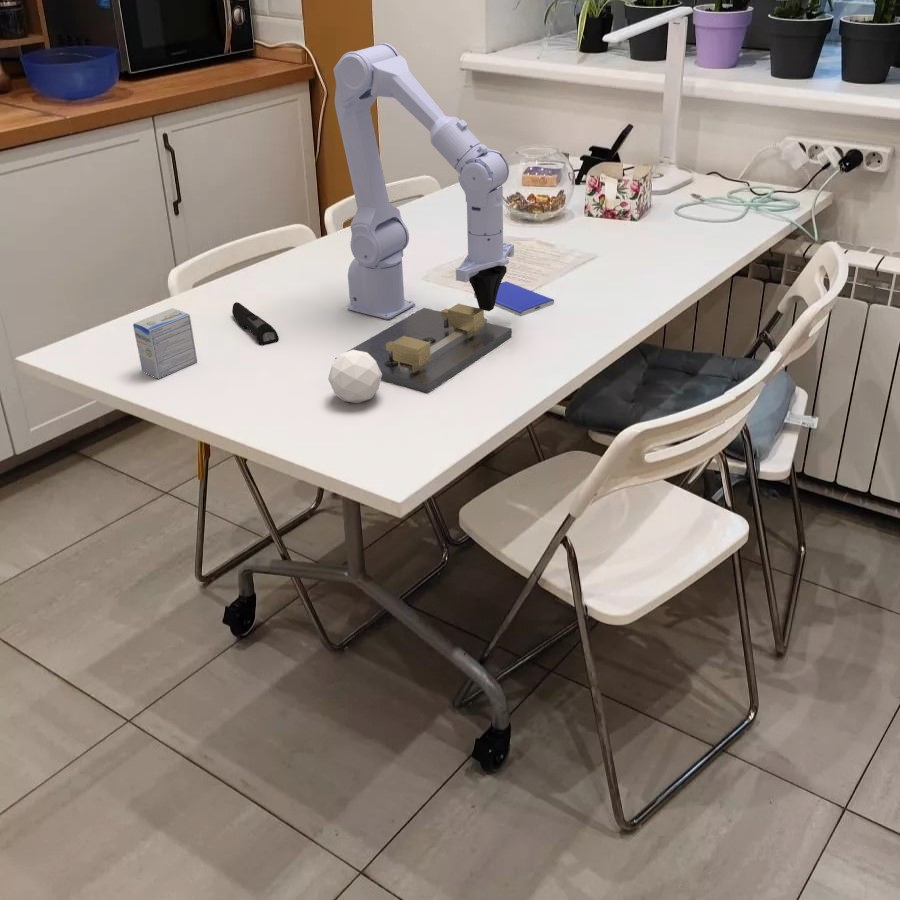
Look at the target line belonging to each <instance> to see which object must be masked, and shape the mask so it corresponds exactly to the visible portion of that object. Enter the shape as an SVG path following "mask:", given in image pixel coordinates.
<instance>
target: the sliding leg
mask: <svg viewBox="0 0 900 900" xmlns="http://www.w3.org/2000/svg"><path fill="white" fill-rule="evenodd" d="M440 312H441V317H444V328H449V326H450V327H454V332H456V331H457V330H459V329H462V330H466V331H467V338H470V337H471V336H473V335H474V334H476V333H478V332H479V329H480V328H482V327H483V326H484V318H485V310H484V309H480V308H479V307H475V306H471V305H467V304H462V303H456V304H455V305H453V306H451V307H450V308H448V309H447V308H444V309H443V310H441V311H440Z"/></svg>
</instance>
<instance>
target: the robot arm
mask: <svg viewBox="0 0 900 900" xmlns="http://www.w3.org/2000/svg"><path fill="white" fill-rule="evenodd" d="M333 75H334V80H335V84H336V86H335V92H334V93H335V94H334V106H335V107H334V108H335V111H336V117H337V121H338V122H337V123H338V125H339V130H340V135H341V138H342V144H343V149H344V152H345V158H346V162H347V166H348V170H349V175H350V176H349V177H350V181H351V185H352V190H353V194H354V198H355V203H356V208H357V209H356V212H355V214H354V216H353V219H352V220H351V223H350V224H349V225H350V231H351V237H350V238H351V239H350V251H351V253H352V256H353V257H354V259H352V261H351V262H350V264H349V267H348V270H347V271H348V272H347V280H348V293H349V304H350V305H348V306H347V310H349V311H352V312H357V313H361V314H364V315H369V316H373V317H377V318H381V319H385V320H390V319H392V318H394V317H397V315H399V314H401V313H403V312H405V311H406V310H409V309H411V308H412V307H414V306H415V305H416V304H415V302H414V301H409V300H406V299H405V290H404V289H405V287H404V274H403V273H404V272H403V257H404V250H405V249H406V248H407V247H408V244H409V242H410V234H409V230H408V228H407V226H406V224H405V223H404V221H403V219H402V216H401V212H400V209H399V208H397V207H396V206H395V205H393V204H392V203H390V201H389V195H388V190H387V189H388V188H387V185H386V181H385V176H384V170H383V166H382V161H381V156H380V151H379V148H378V141H377V137H376V132H375V127H374V123H373V119H372V118H373V117H372V112H371V108H372V106H373V104H374V103H375V101H376V100H377V99H378V98H379V97H385V98H393V99H395V100H396V101H397V102H398V103H399V104H400V105H401V106H402V107H403V108H405V110H407V111H408V112H409V113H410V114H411V116H413V117H414V118H416V120H417V121H419V123H421V125H422V126H424V127H425V129H427V130H428V131H429V133H430V134H429V135H430V144H431V145H432V147H433V148H434V149H435V150H436V151H437V152H439V154H440V155H441V156H442V157H443V159H445V160H446V162H447V163H449V165H450V166H451V167H452V168H453V169H454V170H455V171H456V172H457V173H458V174H459V175H458V176H457V177H458V178H457V179H458V182H459V185H460V187H461V189H462V191H463V193H464V195H465V203H466V220H467V221H466V223H467V224H466V225H467V256H466V257H465V258H464V260H463V261H462V263H461V264H460V265H459V266H458V267H457V268H455V280H456V281H459V282H463V283H468V282H469V284H470V285H471V287H472V290H473V292H474V293H475V295H476V298H475V299H476V302H477V305H478V308H480V309H484V312H491V311H492V310H494V308H495V306H494V305H495V301H496V297H497V293H498V289H499V286H500V284H501V283H502V281H503V279H504V277H505V275H506V273H507V272H508V271H507V269H508V268H507V266H506V265H508V264H509V262H510V259H509V258H511V257H513V256H515V244H514V243H508V242H504V211H503V210H504V206H503V203H504V202H503V199H504V197H503V196H504V195H503V193H504V192H503V190H504V188H503V185H504V184H505V183H506V182H507V180H508V178H509V174H510V166H509V163H508V161H507V159H506V158H505V156H504V155H503V153H502V152H500V151H499V150H496V149H490V148H488V147H487V145H486V144H484V143H482V142H481V141H480V140H479V138H477V137H476V135H475V134H474V133H473V132H472V131H471V130H470V129H469V128H468V123H467V122H466V121H465V120H464V119H459V117H458V116H447V115H445V113H444V112H443V111H442V109H441V108H440V107H439V106H438V104H437V103H436V102H435V101H434V100H433V98H432V97H431V96H430V95H429V93H428V92H427V91H426V90H425V88H424V87H423V86H422V85H421V83H420V82H419V81H418V80H417V78H415V76H414V75H413V73H411V71H410V68H409V65H408V61H407V60H406V58H405V57H403V56H402V55H400V53H399V52H398V50H397V49H396V48H395V47H394V46H393V45H392V44H389V43H385V42H380V43H378V44H375V45H372V46H370V47H366V48H362V49H358V50H356V51H348V52H346V53H344V54H343V55H342V56H341V57H340V59H339V60H338V62H337V63H336V65H335V66H334V67H333ZM507 257H508V258H507Z"/></svg>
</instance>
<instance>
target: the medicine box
mask: <svg viewBox="0 0 900 900" xmlns="http://www.w3.org/2000/svg"><path fill="white" fill-rule="evenodd" d="M132 326H133V332H134V337H135V342H136V346H137V352H138V356H139V357H138V358H139V361H140V366H141V370H142V372H143V373H144V372H145V373H147V374H146V375H148V374H149V375H148V376H150V375H152V376H154V377H156V378H155V379H157V378H158V379H157V380H159V378H160V379H162V378H165V377H166V375H167V376H169V375H171V374H173V373H175V372H177V371H181V370H182V369H184V368H186V367H189V366H190V365H193V364H195V363H197V362H198V357H197V351H196V345H195V339H194V333H193V325H192V319H191V315H190V314H189V313H187V312H185V311H182V310H180V309H177V308H169V309H167V310H164V311H161V312H158V313H156V314H154V315H151V316H149V317H146V318H144V319H142V320H139V321H136V322H134V323H133V324H132ZM145 373H144V374H145ZM152 376H151V377H152ZM154 377H153V378H154ZM161 377H162V378H161Z"/></svg>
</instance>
